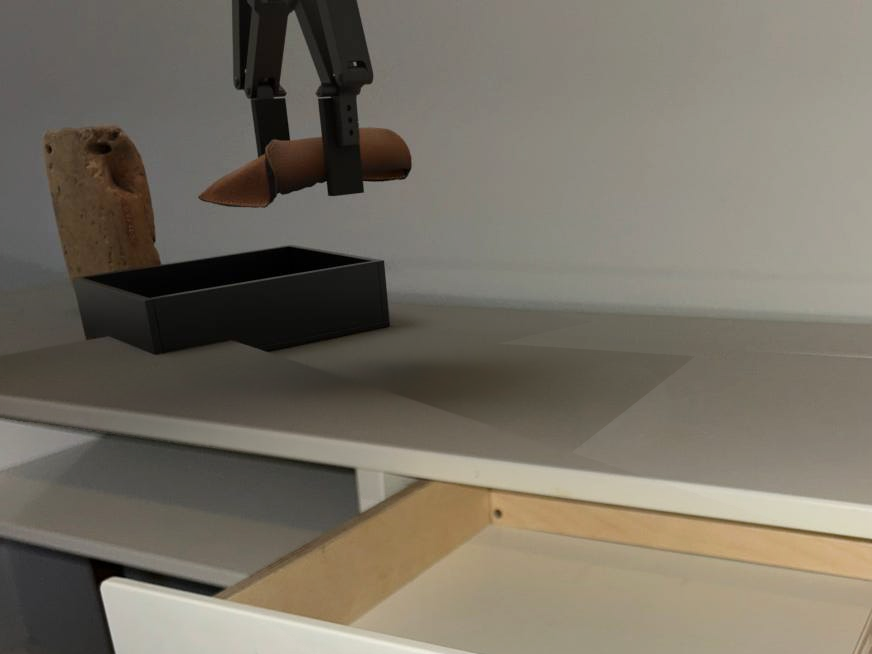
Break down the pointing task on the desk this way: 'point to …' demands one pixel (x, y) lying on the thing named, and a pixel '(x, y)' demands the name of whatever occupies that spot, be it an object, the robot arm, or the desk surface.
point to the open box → (236, 300)
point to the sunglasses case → (306, 168)
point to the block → (100, 200)
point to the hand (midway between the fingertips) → (311, 190)
